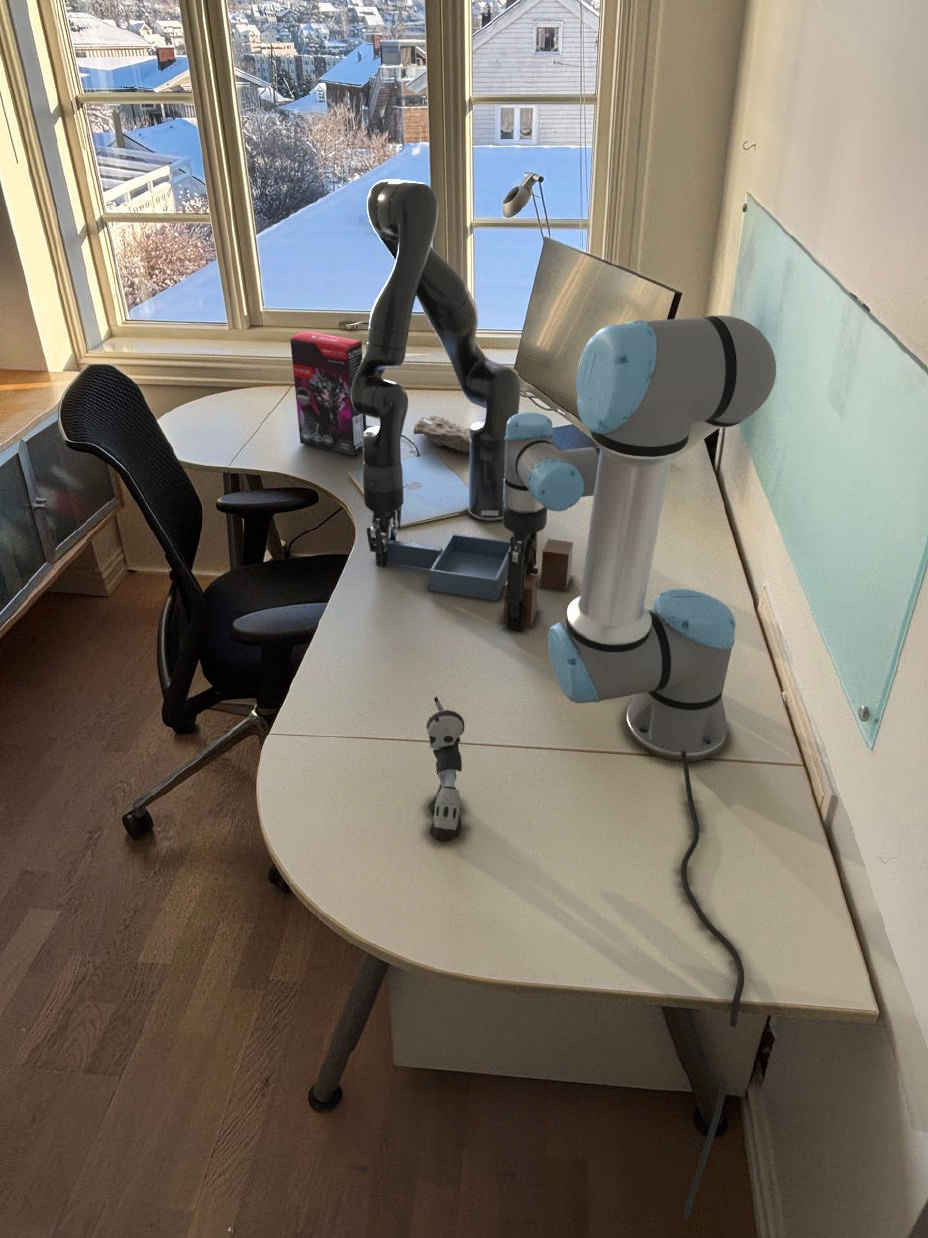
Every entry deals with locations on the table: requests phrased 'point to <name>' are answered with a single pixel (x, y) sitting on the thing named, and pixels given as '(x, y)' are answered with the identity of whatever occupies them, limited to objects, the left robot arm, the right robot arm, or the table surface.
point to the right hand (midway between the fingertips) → (519, 616)
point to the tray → (458, 564)
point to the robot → (446, 772)
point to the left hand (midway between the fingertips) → (386, 559)
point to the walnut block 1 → (526, 600)
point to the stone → (444, 432)
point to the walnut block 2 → (556, 564)
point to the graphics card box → (327, 391)
